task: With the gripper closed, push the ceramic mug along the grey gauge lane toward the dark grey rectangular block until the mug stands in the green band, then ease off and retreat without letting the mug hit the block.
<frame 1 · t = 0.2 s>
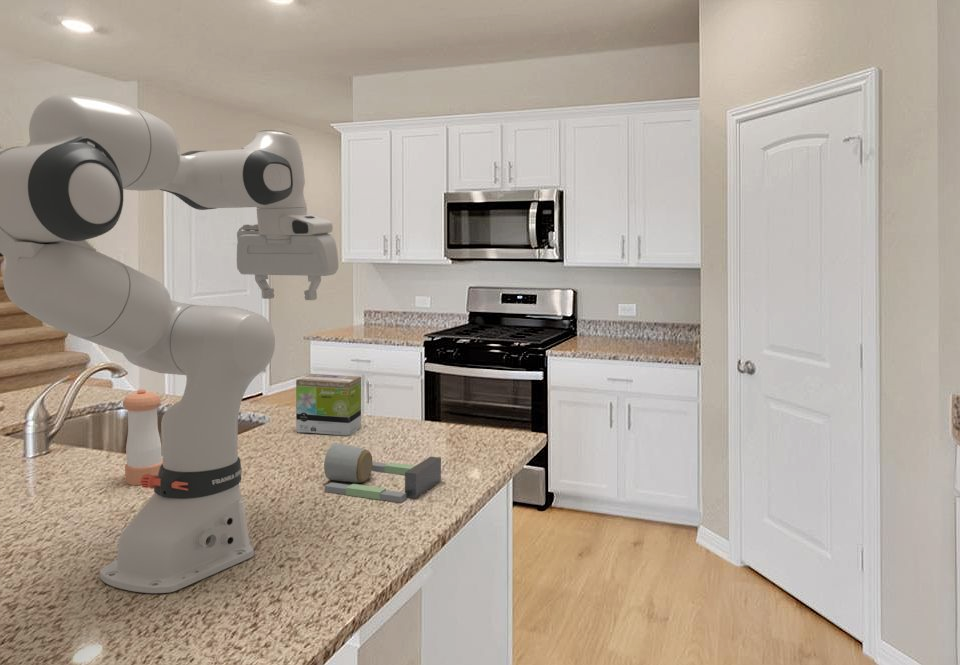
hand: (289, 299, 130), 39 cm above the countertop, tool pointing down, fingers open, 8 cm apart
dark grey rectangular block: (423, 488, 142), on the countertop
tea box: (329, 431, 189), on the countertop
gauge lane: (384, 483, 145), on the countertop
pepper shaker: (145, 480, 146), on the countertop
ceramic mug: (350, 479, 148), on the countertop
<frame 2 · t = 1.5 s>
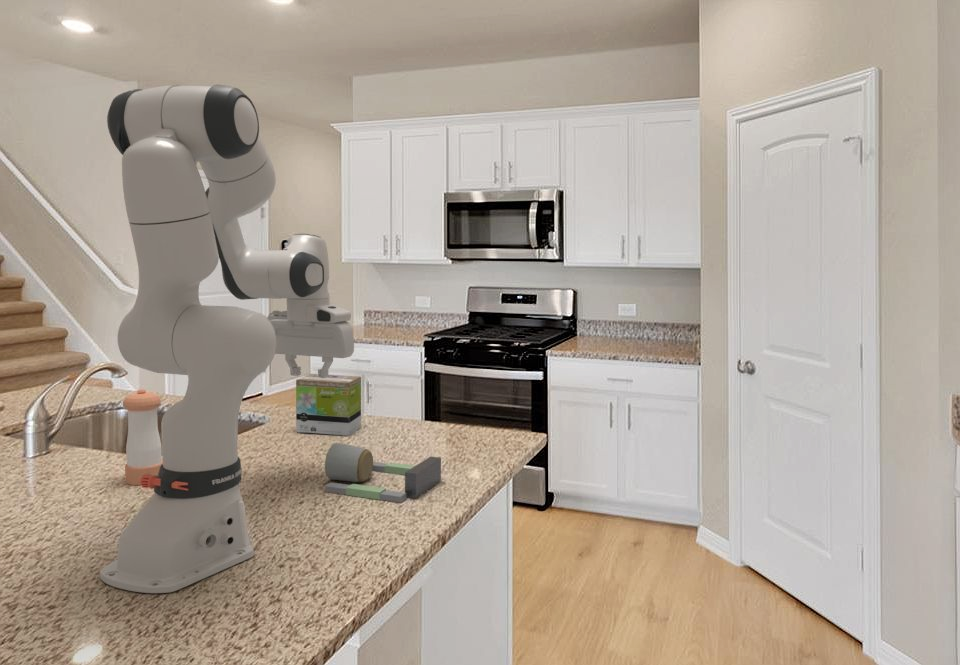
hand: (309, 376, 149), 21 cm above the countertop, tool pointing down, fingers open, 5 cm apart
nothing on the countertop moved.
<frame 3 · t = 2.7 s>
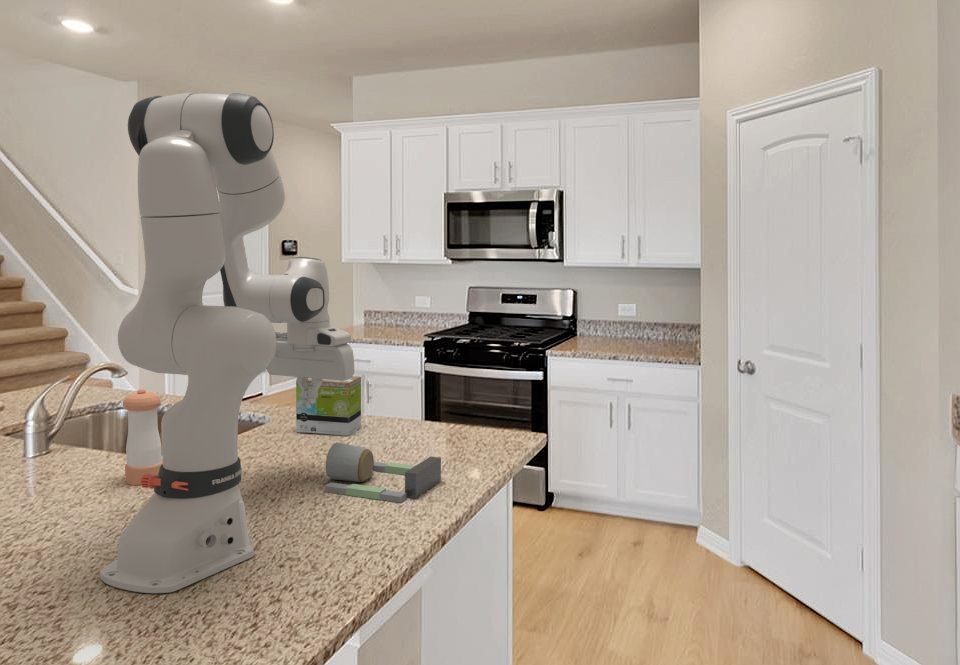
hand: (310, 397, 150), 17 cm above the countertop, tool pointing down, fingers closed
nothing on the countertop moved.
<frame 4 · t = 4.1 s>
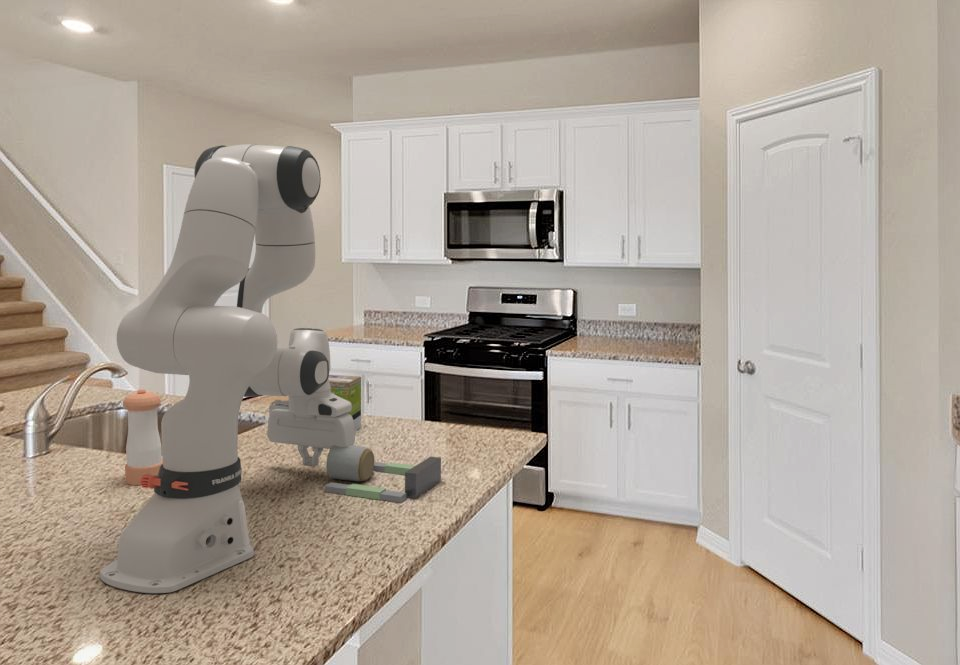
hand: (310, 465, 151), 2 cm above the countertop, tool pointing down, fingers closed
nothing on the countertop moved.
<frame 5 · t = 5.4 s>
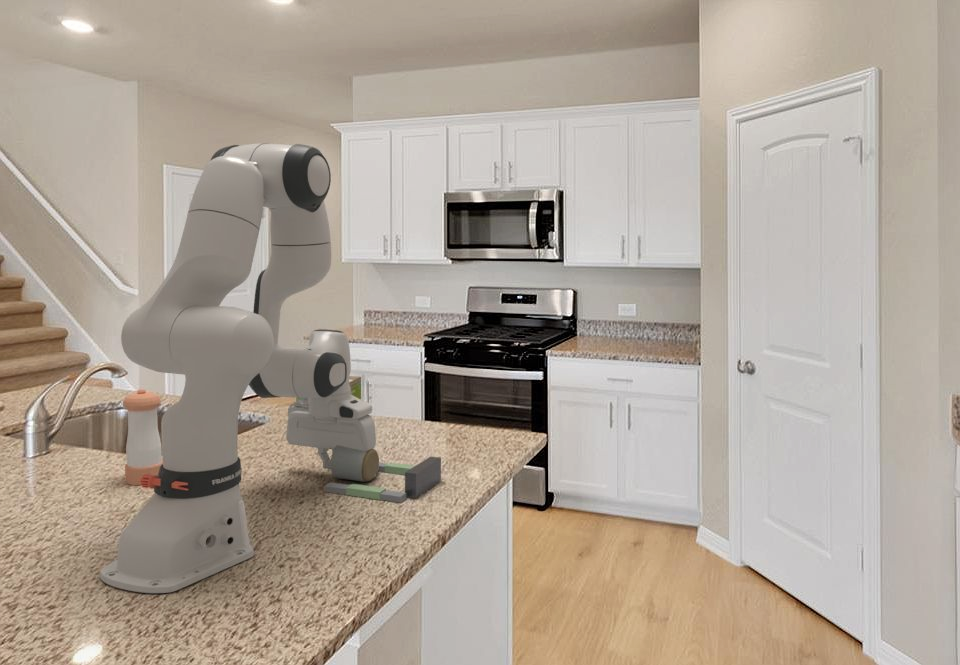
hand: (330, 468, 150), 2 cm above the countertop, tool pointing down, fingers closed
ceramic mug: (357, 478, 149), on the countertop, touching gripper
everything else where it was.
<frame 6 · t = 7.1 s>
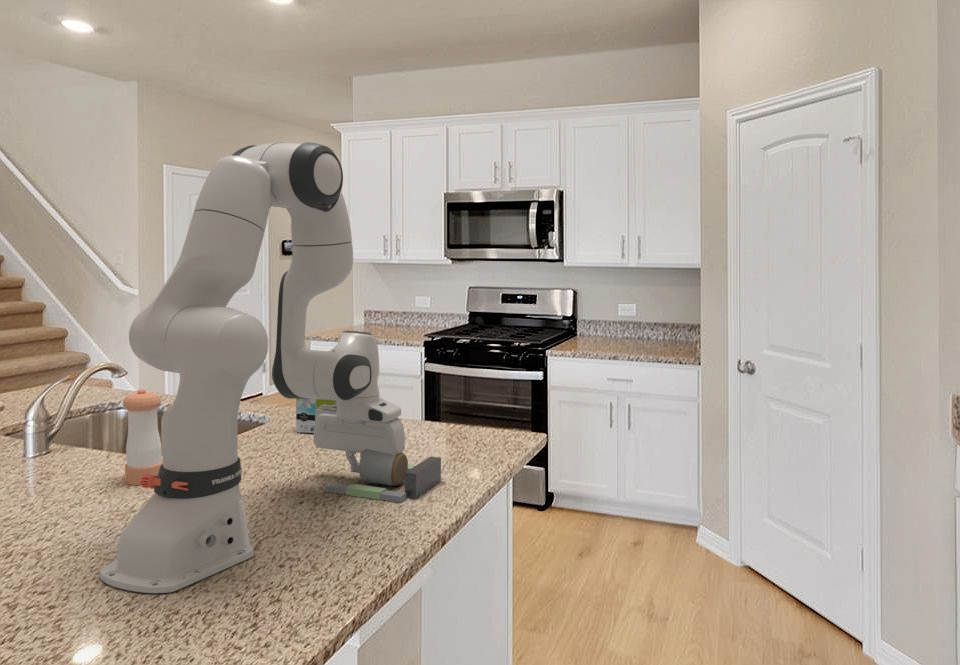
hand: (358, 472, 147), 2 cm above the countertop, tool pointing down, fingers closed
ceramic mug: (386, 482, 146), on the countertop, touching gripper
everything else where it was.
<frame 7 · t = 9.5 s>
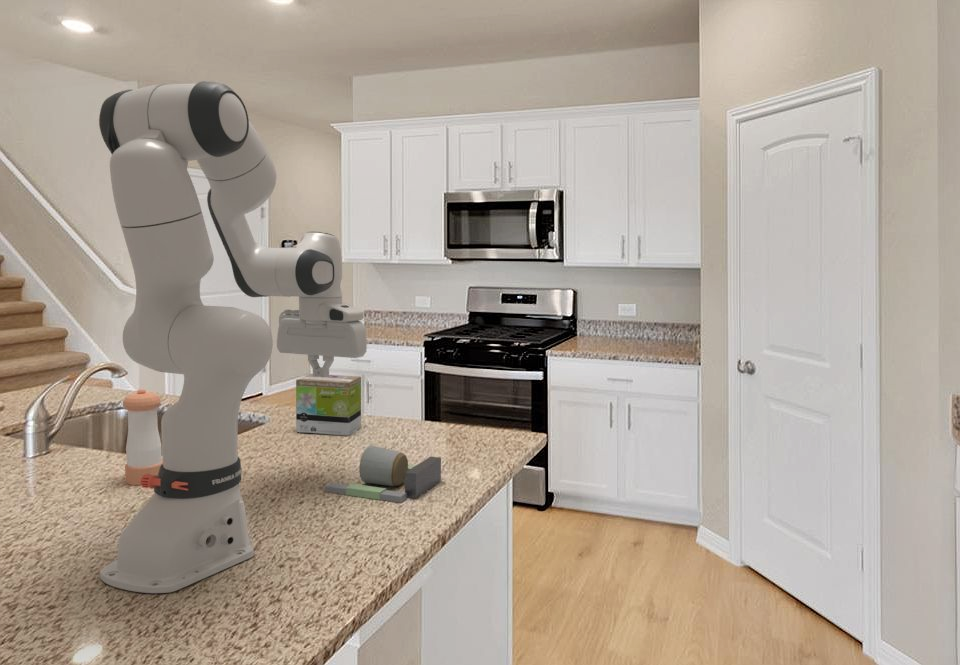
hand: (320, 376, 147), 22 cm above the countertop, tool pointing down, fingers closed
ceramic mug: (386, 483, 146), on the countertop
everything else where it was.
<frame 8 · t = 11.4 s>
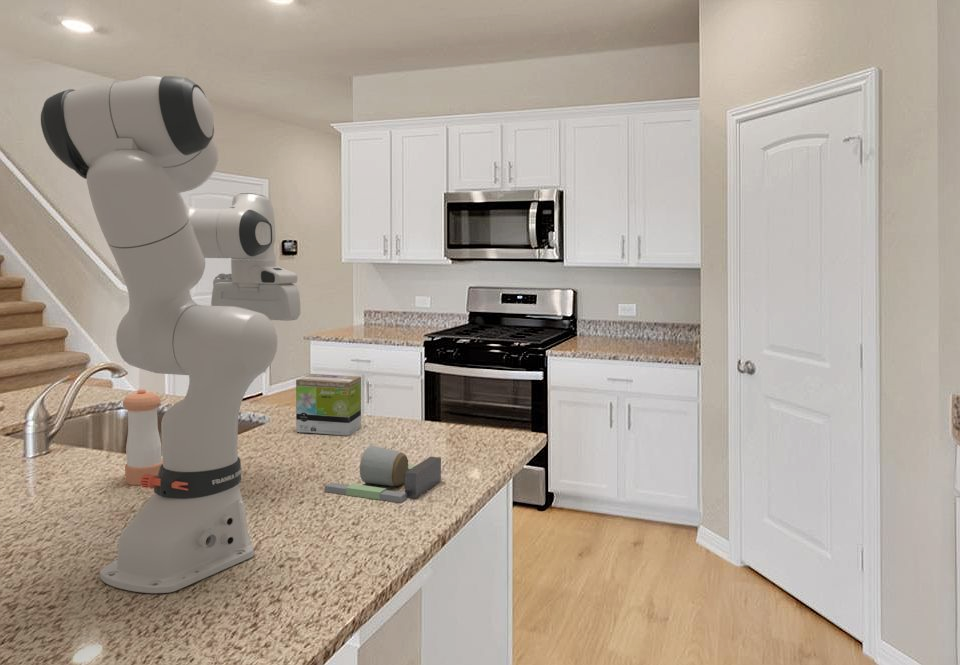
hand: (255, 340, 146), 29 cm above the countertop, tool pointing down, fingers closed
nothing on the countertop moved.
at the end: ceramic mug inside the target area (1.3 cm from its centre), on the countertop; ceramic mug tilted 2°; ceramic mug touching countertop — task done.
